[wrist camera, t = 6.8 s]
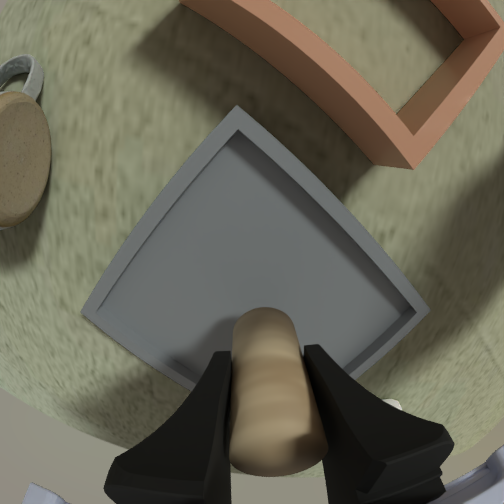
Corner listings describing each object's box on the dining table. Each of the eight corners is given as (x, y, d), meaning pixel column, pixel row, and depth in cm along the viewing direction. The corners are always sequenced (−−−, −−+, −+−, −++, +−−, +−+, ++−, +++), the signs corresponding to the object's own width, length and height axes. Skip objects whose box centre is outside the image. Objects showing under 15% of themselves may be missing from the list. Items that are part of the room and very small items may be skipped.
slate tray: (419, 299, 17) (430, 310, 15) (274, 420, 20) (276, 434, 18) (237, 110, 13) (236, 104, 11) (90, 300, 16) (80, 312, 14)
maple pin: (307, 330, 14) (346, 447, 7) (264, 366, 14) (277, 482, 8) (262, 295, 13) (281, 418, 6) (220, 335, 14) (209, 459, 7)
